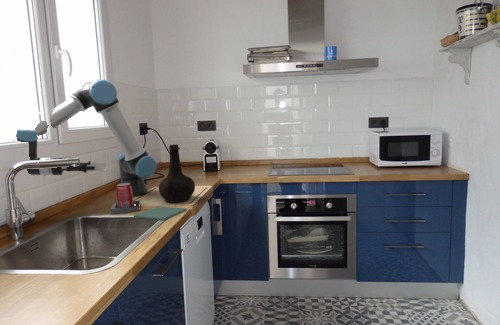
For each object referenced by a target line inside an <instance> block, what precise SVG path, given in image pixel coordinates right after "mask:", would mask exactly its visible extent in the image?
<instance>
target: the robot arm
mask: <svg viewBox="0 0 500 325" xmlns="http://www.w3.org/2000/svg"><path fill="white" fill-rule="evenodd" d="M117 95H118V92H117V88H116V87H115V85H114V84H113V83H112V82H111V81H109V80H107V79H95V80H92V81H89V82H86V83H84V84H83V85H82V86H81V87H79V88H78V89H77V90H76V91H74V92H73V93H72V94H70V95H69V98H68V99H66V100H65V101H64V102H62V103H60V104H59V105H57V106H56V107H55V108H53V109H54V110H53V109H52V110H53V112H52V115H51V117H50V122H51V126H52V127H53V128H55V129H57V128H58V127H59V125H60V126H61V125H63V124H64V123H65V122H67V121H68V120H70V119H71V118H73V117H74V116H75V115H77V114H78V113H80V112H84V111H86V110H88V109H90V108H92V107H93V108H94V110H95V111H96V113H99V114H100V115H102V117H103V119H104V121H105V123H106V124H107V126H108V128H109V129H110V131H111V133H112V134H113V135H114V136H113V137H114V138H115V139H116V141H117V143H118V144H119V147H120V148H121V150H122V151H123V153H121V154H119V156H118V166H119V174H120V175H119V176H120V184H121V183H130V185H131V187H132V192H133V197H138V196H143V195H146V194H147V193H148V188H147V187H146V184H145V181H144V179H149V178H151V177H152V176H153V175H155V172H156V170H157V168H158V166H157V162H156V160H155V158H154V157H153V156H151V155H149V153H148V151H147V150H146V149H145V148H143V147H141V145H140V144H139V141H138V140H137V138H136V136H135V134H134V133H133V131H132V129H131V127H130V126H129V124H128V122H127V120H126V119H125V116H124V114H123V113H122V111H121V109H120V108H119V103H120V101H119V99H118V97H117ZM48 126H49V125H47V122H46V121H41V122H40V123H39V124H38V125H37V127H36V128H35V130H24V129H21V128H20V129H17V130H16V134H17V135H16V137H17V140H18V141H21V142H28V143H29V157H30V160H46V159H63V158H62V157H53V158H52V157H38V141H37V139H38V138H37V135H38V136H39V135H43V134H45V133H46V132H47V128H48ZM79 163H80V165H79V166H77V167H73V166H69V167H57V168H44V169H27V171H28V173H29V174H31V175H30V176H42V175H43V177H46V176H51V175H53V176H61V175H63V173H64V171H66V172H83V173H84V174H85V173H88V172H104V170H105V169H106V162H91V161H88V162H79ZM145 193H146V194H145ZM142 194H143V195H142Z"/></svg>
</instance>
